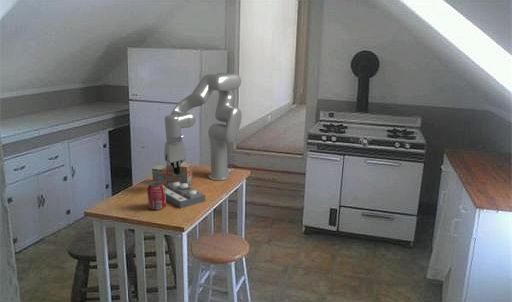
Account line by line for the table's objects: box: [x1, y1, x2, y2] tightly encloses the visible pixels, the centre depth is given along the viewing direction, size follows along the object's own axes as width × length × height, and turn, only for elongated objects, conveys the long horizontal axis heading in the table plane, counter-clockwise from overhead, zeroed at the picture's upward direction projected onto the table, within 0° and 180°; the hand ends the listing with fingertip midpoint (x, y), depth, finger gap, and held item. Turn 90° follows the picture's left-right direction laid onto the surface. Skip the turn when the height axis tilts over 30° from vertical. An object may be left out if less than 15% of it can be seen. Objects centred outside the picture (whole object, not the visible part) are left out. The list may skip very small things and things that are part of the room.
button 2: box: [188, 189, 198, 195], centre depth 193 cm, size 4×4×2 cm
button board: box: [165, 183, 206, 209], centre depth 198 cm, size 14×23×5 cm, turn 41°
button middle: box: [180, 183, 188, 189], centre depth 199 cm, size 4×4×2 cm
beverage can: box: [147, 181, 167, 211], centre depth 185 cm, size 8×8×12 cm
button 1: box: [172, 182, 180, 187], centre depth 205 cm, size 4×4×2 cm
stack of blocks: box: [151, 162, 193, 188], centre depth 217 cm, size 21×6×12 cm, turn 73°
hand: (177, 173), depth 204 cm, fingers closed
